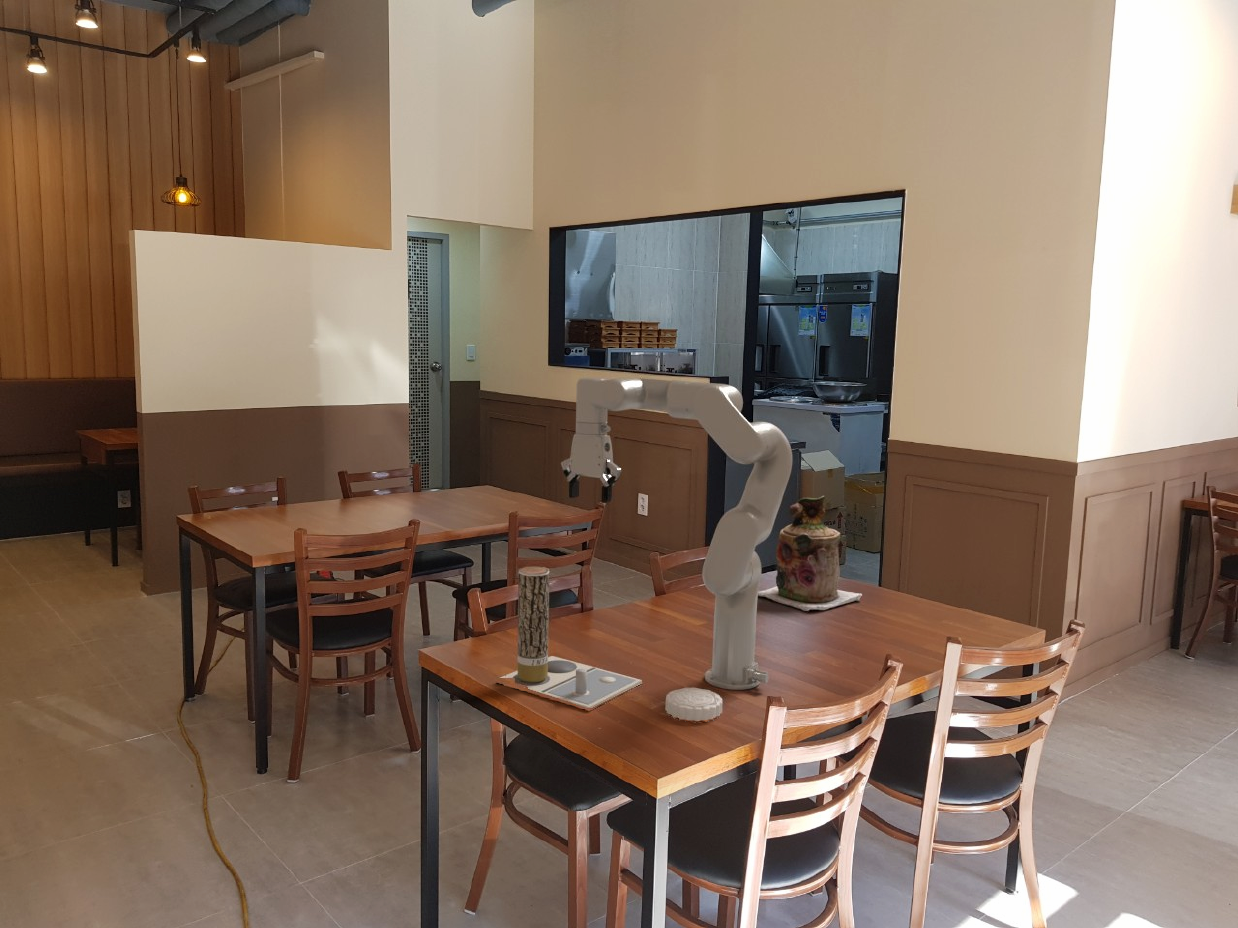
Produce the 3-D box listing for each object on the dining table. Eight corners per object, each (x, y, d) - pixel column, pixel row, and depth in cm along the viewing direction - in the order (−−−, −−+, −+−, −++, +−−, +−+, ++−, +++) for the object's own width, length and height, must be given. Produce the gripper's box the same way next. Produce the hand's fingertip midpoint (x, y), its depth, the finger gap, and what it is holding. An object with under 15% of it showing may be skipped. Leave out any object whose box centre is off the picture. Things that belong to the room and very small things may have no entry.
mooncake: (654, 714, 201) (655, 698, 200) (682, 697, 211) (683, 681, 210) (705, 728, 194) (706, 711, 194) (731, 709, 204) (732, 693, 204)
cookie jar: (801, 583, 309) (806, 485, 304) (864, 601, 290) (871, 497, 286) (748, 595, 293) (753, 492, 289) (812, 615, 275) (818, 505, 270)
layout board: (642, 684, 217) (642, 658, 216) (589, 711, 201) (590, 683, 200) (552, 659, 232) (552, 635, 231) (496, 683, 215) (496, 657, 214)
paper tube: (511, 680, 214) (512, 571, 211) (528, 671, 220) (529, 564, 217) (537, 686, 211) (538, 575, 208) (553, 676, 217) (555, 569, 214)
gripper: (630, 431, 229) (628, 501, 231) (572, 425, 238) (571, 493, 241) (612, 433, 223) (610, 506, 225) (553, 427, 232) (552, 497, 235)
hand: (589, 499), depth 233 cm, fingers open, 9 cm apart
